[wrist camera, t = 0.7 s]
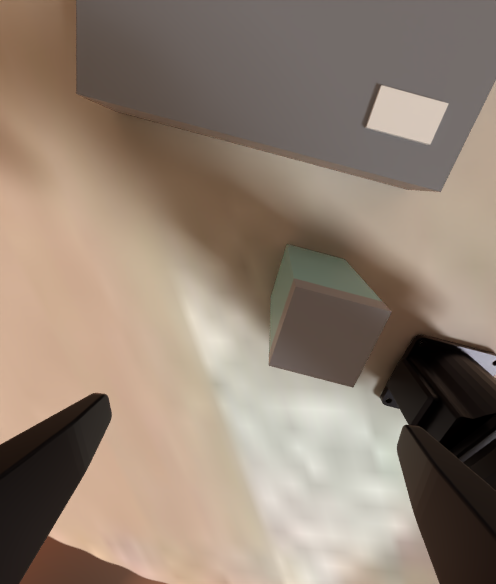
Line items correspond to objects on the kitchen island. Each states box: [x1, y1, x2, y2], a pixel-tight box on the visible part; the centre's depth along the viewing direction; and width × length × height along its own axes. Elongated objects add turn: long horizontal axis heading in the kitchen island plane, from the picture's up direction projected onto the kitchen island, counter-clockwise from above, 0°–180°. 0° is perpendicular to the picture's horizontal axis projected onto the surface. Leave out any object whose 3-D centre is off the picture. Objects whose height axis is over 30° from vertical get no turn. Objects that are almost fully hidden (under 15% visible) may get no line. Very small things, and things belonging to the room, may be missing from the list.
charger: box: [269, 244, 392, 387], centre depth 15 cm, size 4×4×8 cm
